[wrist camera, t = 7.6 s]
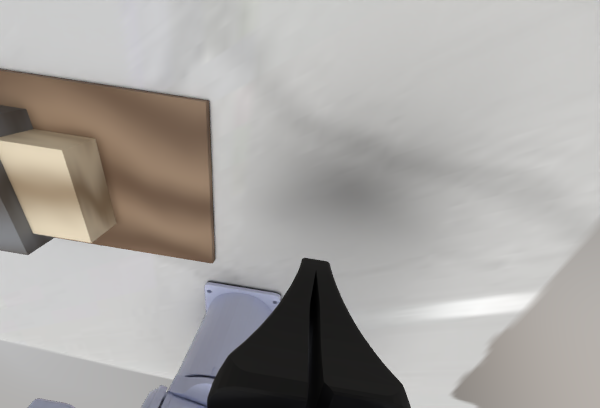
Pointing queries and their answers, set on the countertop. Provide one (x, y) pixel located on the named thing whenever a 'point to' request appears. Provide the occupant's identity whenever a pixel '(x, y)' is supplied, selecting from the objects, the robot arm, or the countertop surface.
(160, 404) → the robot arm
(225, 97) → the countertop surface
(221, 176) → the countertop surface
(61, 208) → the cream wooden block
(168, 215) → the board
